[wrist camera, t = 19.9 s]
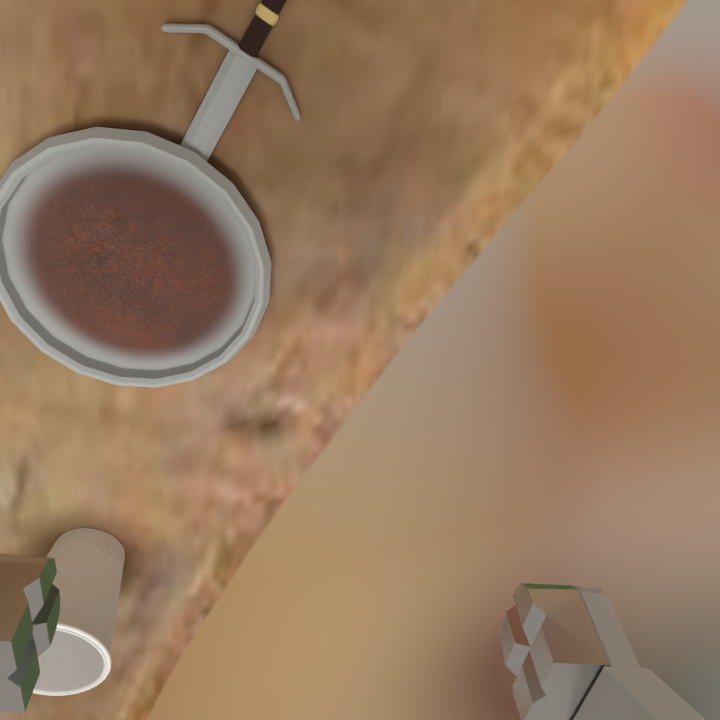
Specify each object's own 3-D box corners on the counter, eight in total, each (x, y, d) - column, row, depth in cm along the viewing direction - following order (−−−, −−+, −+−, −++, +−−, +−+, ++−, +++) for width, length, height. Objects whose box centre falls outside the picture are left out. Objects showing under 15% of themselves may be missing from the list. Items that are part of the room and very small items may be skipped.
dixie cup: (68, 500, 51) (20, 609, 43) (161, 546, 54) (132, 655, 46) (18, 558, 54) (-37, 670, 46) (108, 598, 57) (73, 709, 49)
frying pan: (435, 65, 34) (194, 433, 45) (426, 58, 37) (199, 408, 48) (126, -168, 28) (-64, 318, 40) (140, -157, 31) (-42, 297, 42)
